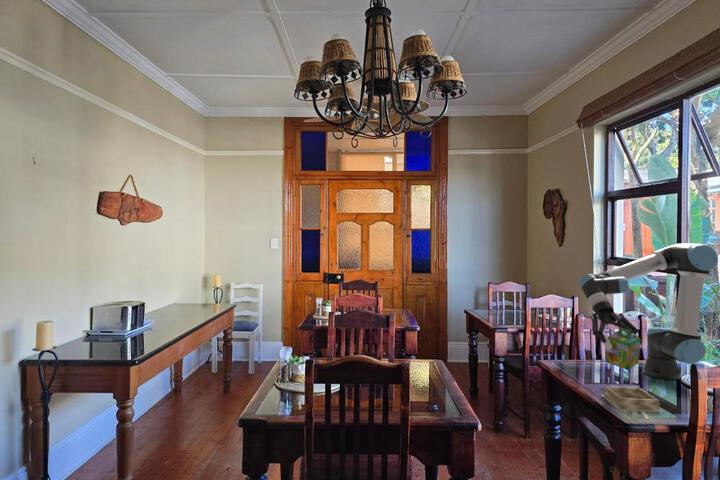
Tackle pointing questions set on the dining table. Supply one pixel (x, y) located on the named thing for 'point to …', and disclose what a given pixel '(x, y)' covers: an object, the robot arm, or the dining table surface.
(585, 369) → the dining table surface
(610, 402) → the mat
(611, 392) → the tray
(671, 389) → the dining table surface
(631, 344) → the chalk box
